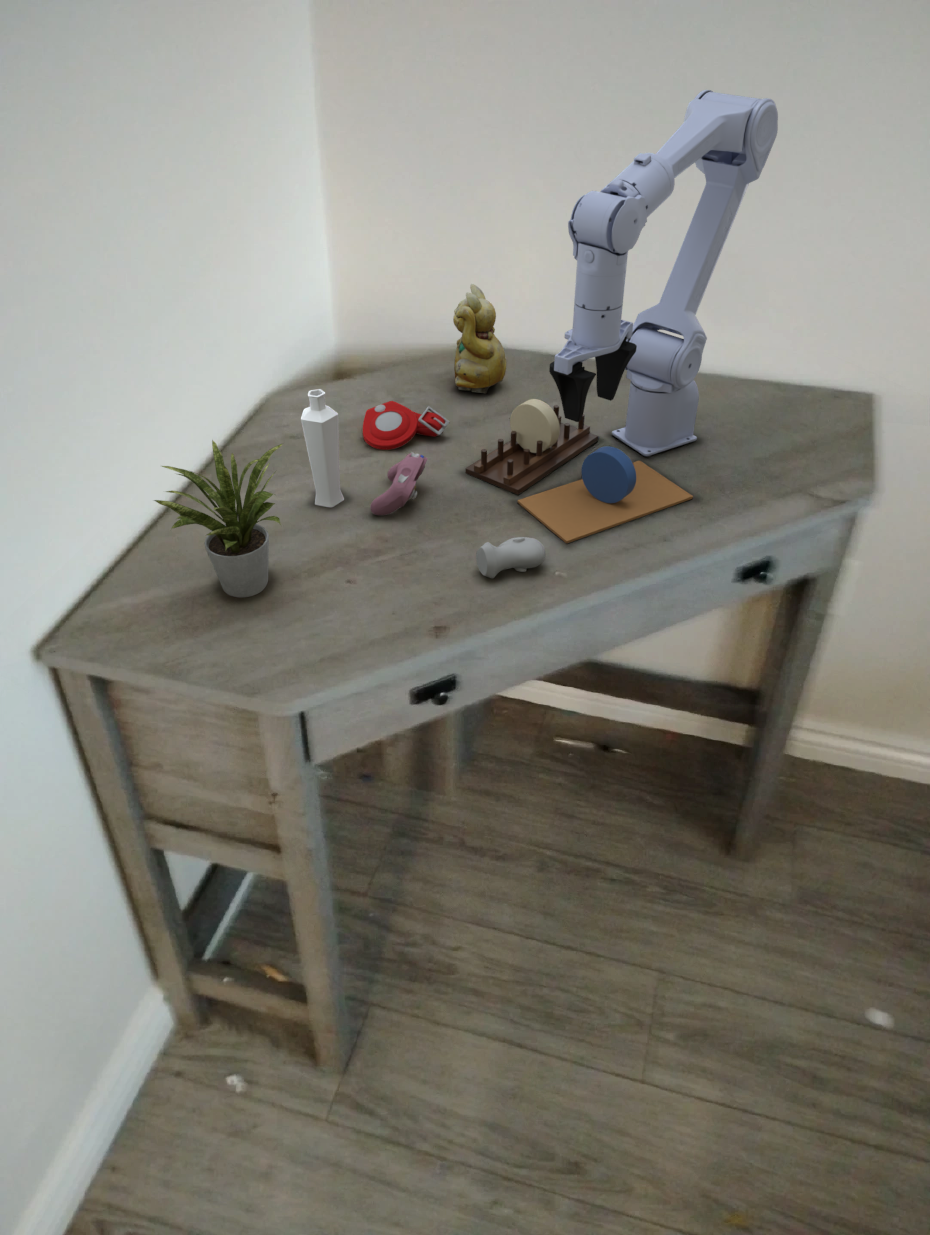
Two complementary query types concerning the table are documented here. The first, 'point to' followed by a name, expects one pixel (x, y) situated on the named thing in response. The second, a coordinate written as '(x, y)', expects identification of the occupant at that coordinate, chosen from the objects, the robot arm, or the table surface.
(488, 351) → the decorative figurine
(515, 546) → the smooth white sculpture
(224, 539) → the house plant
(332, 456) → the white faceted vase
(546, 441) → the cream disc
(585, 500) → the mat
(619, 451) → the blue disc
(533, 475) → the rack
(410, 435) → the tracker holder
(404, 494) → the video game controller
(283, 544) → the table surface
